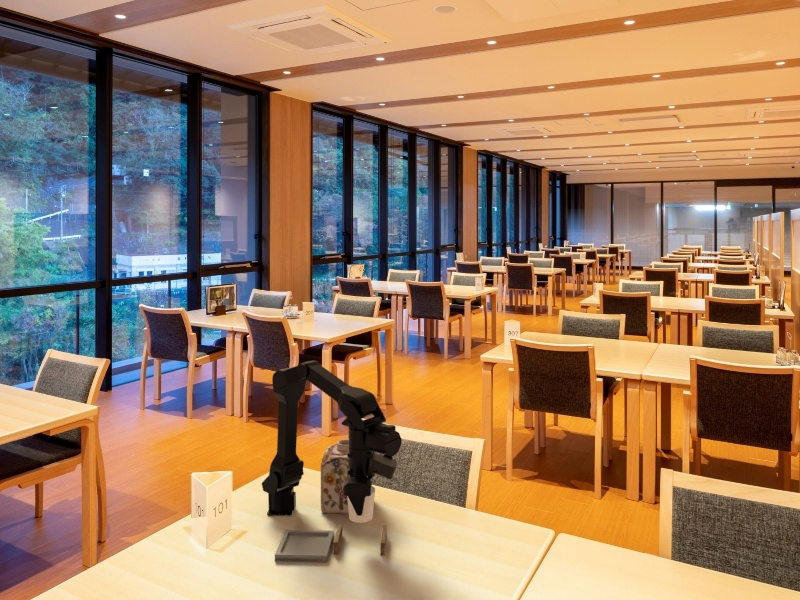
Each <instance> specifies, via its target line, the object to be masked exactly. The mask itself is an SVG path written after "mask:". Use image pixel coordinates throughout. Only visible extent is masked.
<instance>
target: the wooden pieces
mask: <svg viewBox="0 0 800 600" xmlns="http://www.w3.org/2000/svg"><path fill="white" fill-rule="evenodd" d="M387 526H388V525H387V524H383V525H382V526H381V527H382V528H381V535H380V544H379V545H380V551H379V553H380V554H379V555H380V556H385V555H386V545H387V538H388V537H387V536H388V534H387V533H388V531H387V529H388V527H387ZM342 539H343V524H341V523H340V524H339V523H338V524H337V527H336V531H335V533H334V538H333V542H332V546H333V551H332V552H333V555H339V551H340V546H341V543H342Z"/></svg>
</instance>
